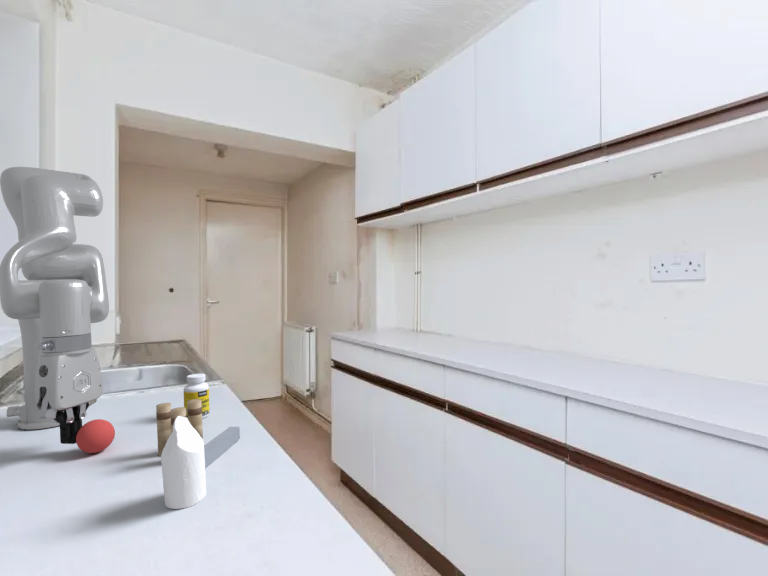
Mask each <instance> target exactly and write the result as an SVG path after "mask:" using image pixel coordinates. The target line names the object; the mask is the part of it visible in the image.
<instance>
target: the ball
mask: <svg viewBox="0 0 768 576" xmlns="http://www.w3.org/2000/svg"><path fill="white" fill-rule="evenodd" d="M115 435H116V430H115V427H114V425H113V424H112V423H111V422H110V421H108V420H105V419H101V418H98V419H92V420H90V421H87V422H85V423H84V424H82V427H81V428H80V430H79V431H78V433H77V436H76V443H75V444H76V445H77V447H78V448H79V449H80V451H82V452H84V453H87V454H96V453H100V452H102V451H104V450H107V448H108V447H110V446H111V444H112V443H113V441H114V439H115Z"/></svg>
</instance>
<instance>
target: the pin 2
mask: <svg viewBox="0 0 768 576" xmlns="http://www.w3.org/2000/svg"><path fill="white" fill-rule="evenodd" d="M187 404H188V408H187V412H188V421H189V422H190V424H191V425H192V427H193V428H194V429H195V430H196V431H197V432H198V434H199V435H200V437H201V438H202V439H203V440H204V435H203V432H204V431H203V419H202V403H201V399H193V400H189V401H188V402H187Z"/></svg>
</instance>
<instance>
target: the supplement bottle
mask: <svg viewBox="0 0 768 576" xmlns="http://www.w3.org/2000/svg"><path fill="white" fill-rule="evenodd" d="M206 379H207V378H206V374H205V373H193V374H189V375H187V376H186V383H187V384H186V385H185V386H184V387H183V407H185V408H186V417H187V419H188V412H187V408H188V404H187V402H188V401H189V400H193V399H201V403H202V420H203V419H205V418H207V417H209V416H210V386H209V384H208V383H207V382H205V381H206Z"/></svg>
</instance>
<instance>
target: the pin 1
mask: <svg viewBox="0 0 768 576" xmlns="http://www.w3.org/2000/svg"><path fill="white" fill-rule="evenodd" d="M178 416H181V417H186V408H185V407H184V406H180V407H175V408H174V407H173V408H171V431H172V432H173V424H174V421H175V419H176V418H177V417H178ZM186 418H187V417H186Z"/></svg>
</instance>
